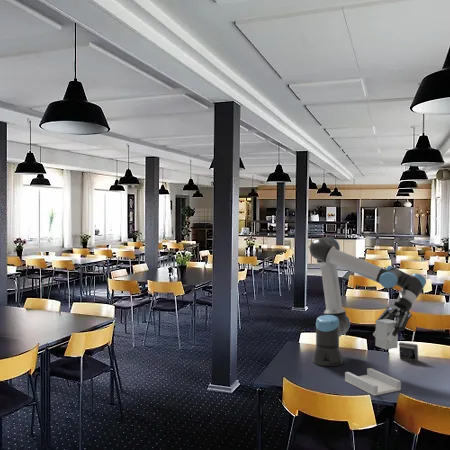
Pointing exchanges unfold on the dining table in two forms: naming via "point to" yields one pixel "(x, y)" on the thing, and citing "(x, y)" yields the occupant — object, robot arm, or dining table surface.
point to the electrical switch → (408, 351)
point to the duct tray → (374, 382)
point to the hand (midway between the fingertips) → (381, 338)
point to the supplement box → (385, 334)
